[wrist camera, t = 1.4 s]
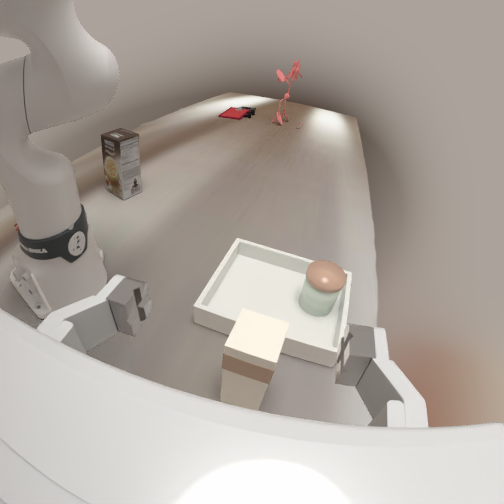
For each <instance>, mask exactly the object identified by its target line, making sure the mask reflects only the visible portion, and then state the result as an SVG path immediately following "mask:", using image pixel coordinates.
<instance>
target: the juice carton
mask: <svg viewBox="0 0 504 504" xmlns="http://www.w3.org/2000/svg"><path fill="white" fill-rule="evenodd" d="M289 324H290V323H289V322H285V321H282V320H279V319H276V318H273V317H269V316H266V315H263V314H260V313H257V312H254V311H251V310H248V309H245V308H242V310H241V312H240V314H239V317H238V319H237V321H236V323H235V325H234V327H233V329H232V331H231V333H230V335H229V337H228V339H227V341H226V343H225V346H224V353H223V362H222V368H223V370H222V383H221V396H220V401H222V402H225V403H227V404H230V405H234V406H238V407H243V408H247V409H252V410H256V411H258V409H259V406H260V404H261V401H262V399H263V397H264V394H265V392H266V389H267V387H268V384H269V383H270V380H271V378H272V375H273V373H274V370H275V367H276V364H277V361H278V358H279V355H280V352H281V349H282V346H283V343H284V340H285V337H286V334H287V330H288V327H289Z"/></svg>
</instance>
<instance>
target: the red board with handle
mask: <svg viewBox="0 0 504 504" xmlns="http://www.w3.org/2000/svg"><path fill="white" fill-rule="evenodd" d="M255 109H256V108H249V107H239V108H233V107H231V108H229V109H228V110H226V111H225V112H223V113H222V114H220V115H219V116H218V117H224V118H231V119H238V120H240V119H242V118H243V117H248V118H251V113H252V115H254V113H255ZM250 110H253V111H251V112H250ZM246 114H249V115H246Z"/></svg>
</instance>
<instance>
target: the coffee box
mask: <svg viewBox="0 0 504 504" xmlns="http://www.w3.org/2000/svg"><path fill="white" fill-rule="evenodd" d="M101 142H102V153H103V164H104V172H105V181H106V188H107V190H108V191H110V192H111V193H113V194H114V195H116V196H118V197H119V198H121V199H122V200H126V199H128V198H130V197H132V196H134V195H136V194H138V193H140V192H142V188H141V172H140V149H139V134H137V133H134V132H131V131H128V130H125V129H122V128H119V129H116V130H113V131H110V132H107V133H104V134H102V135H101Z"/></svg>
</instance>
